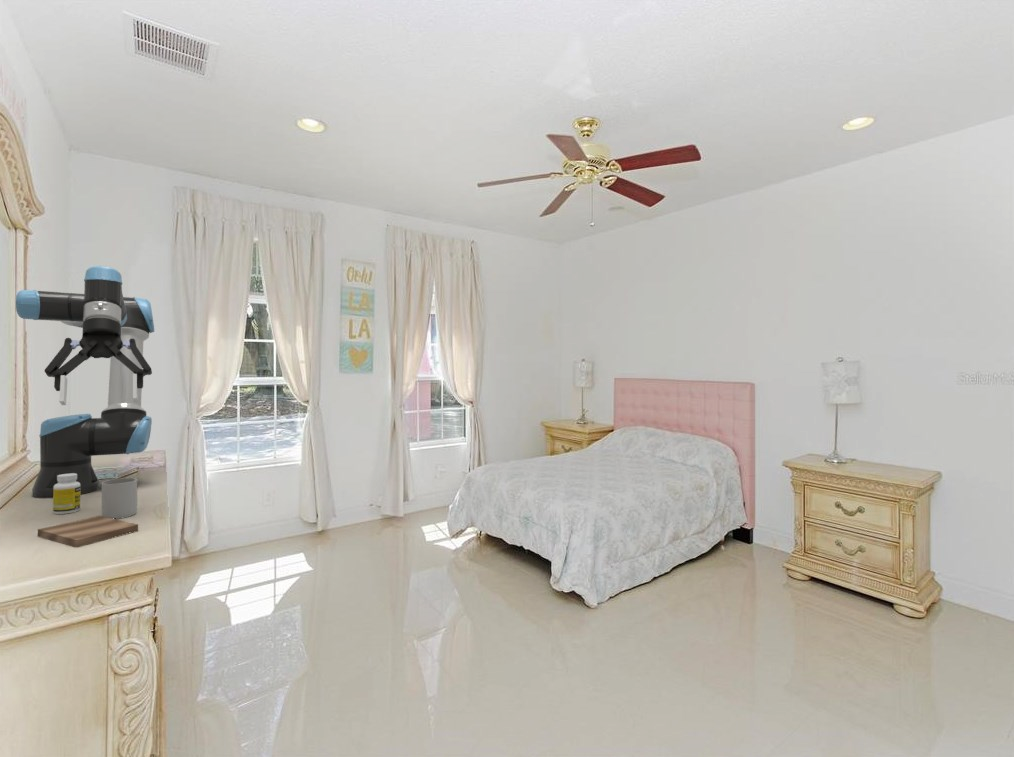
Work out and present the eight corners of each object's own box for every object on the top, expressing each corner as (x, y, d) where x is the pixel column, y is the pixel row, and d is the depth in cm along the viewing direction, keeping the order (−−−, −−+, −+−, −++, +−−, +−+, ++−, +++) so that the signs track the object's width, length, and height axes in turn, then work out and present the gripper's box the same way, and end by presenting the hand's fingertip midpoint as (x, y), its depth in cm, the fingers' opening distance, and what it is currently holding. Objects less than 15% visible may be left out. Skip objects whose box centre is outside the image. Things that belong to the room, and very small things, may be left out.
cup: (102, 521, 124) (102, 485, 124) (100, 512, 131) (100, 478, 131) (138, 515, 129) (138, 481, 129) (134, 507, 136) (134, 475, 136)
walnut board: (37, 535, 113) (37, 529, 113) (99, 521, 124) (99, 515, 124) (76, 547, 106) (76, 540, 106) (138, 530, 117) (138, 524, 117)
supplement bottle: (79, 512, 131) (78, 475, 131) (51, 515, 128) (51, 477, 128) (81, 507, 135) (81, 471, 135) (55, 510, 132) (55, 474, 132)
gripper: (31, 314, 117) (25, 398, 110) (161, 317, 130) (162, 393, 123) (40, 329, 123) (34, 410, 116) (163, 331, 136) (164, 404, 129)
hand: (100, 401), depth 120 cm, fingers open, 13 cm apart
